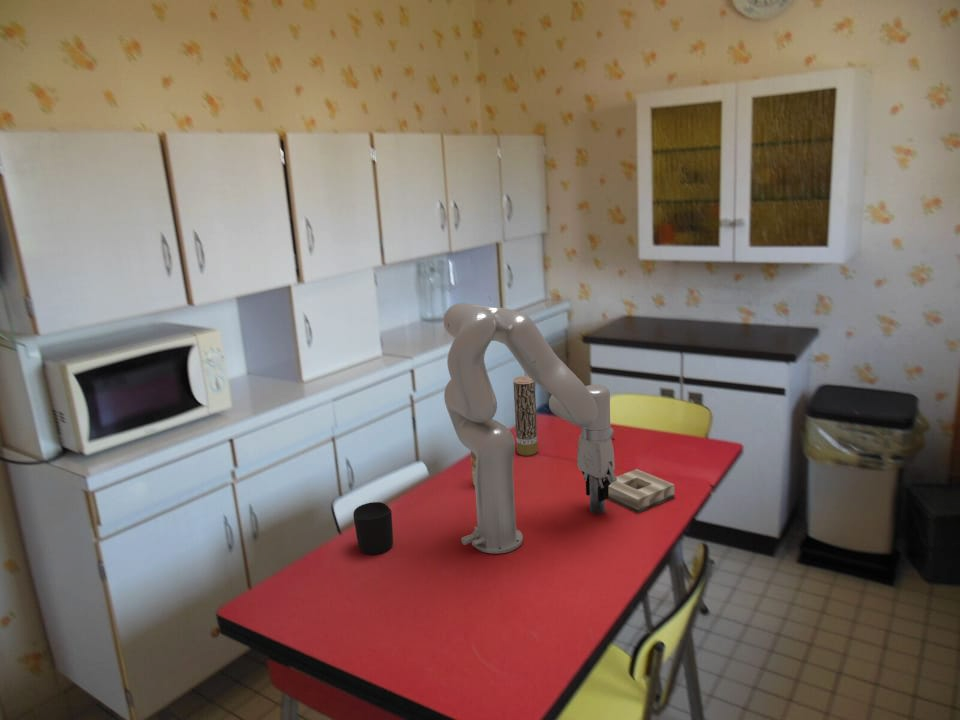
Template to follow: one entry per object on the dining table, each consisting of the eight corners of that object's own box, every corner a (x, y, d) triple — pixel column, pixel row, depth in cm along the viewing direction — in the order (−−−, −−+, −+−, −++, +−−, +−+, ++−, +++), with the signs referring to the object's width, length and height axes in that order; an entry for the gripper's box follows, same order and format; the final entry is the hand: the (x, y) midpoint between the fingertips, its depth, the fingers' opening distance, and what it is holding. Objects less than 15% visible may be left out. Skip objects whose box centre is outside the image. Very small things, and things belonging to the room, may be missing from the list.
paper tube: (514, 450, 237) (510, 378, 231) (533, 447, 239) (530, 375, 233) (521, 458, 231) (517, 383, 225) (541, 454, 233) (537, 380, 227)
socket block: (638, 513, 190) (637, 499, 189) (601, 495, 202) (600, 482, 200) (674, 497, 198) (674, 484, 197) (636, 481, 209) (636, 469, 208)
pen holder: (400, 538, 185) (396, 503, 182) (386, 557, 176) (382, 520, 174) (366, 536, 187) (362, 501, 185) (351, 554, 179) (346, 518, 176)
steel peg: (597, 515, 190) (596, 473, 187) (586, 510, 194) (585, 469, 190) (608, 511, 192) (607, 469, 189) (597, 506, 196) (597, 465, 193)
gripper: (563, 427, 192) (566, 490, 197) (607, 444, 178) (608, 512, 183) (584, 421, 196) (586, 482, 201) (629, 437, 182) (630, 503, 187)
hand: (597, 496), depth 192 cm, fingers closed on steel peg, 4 cm apart
